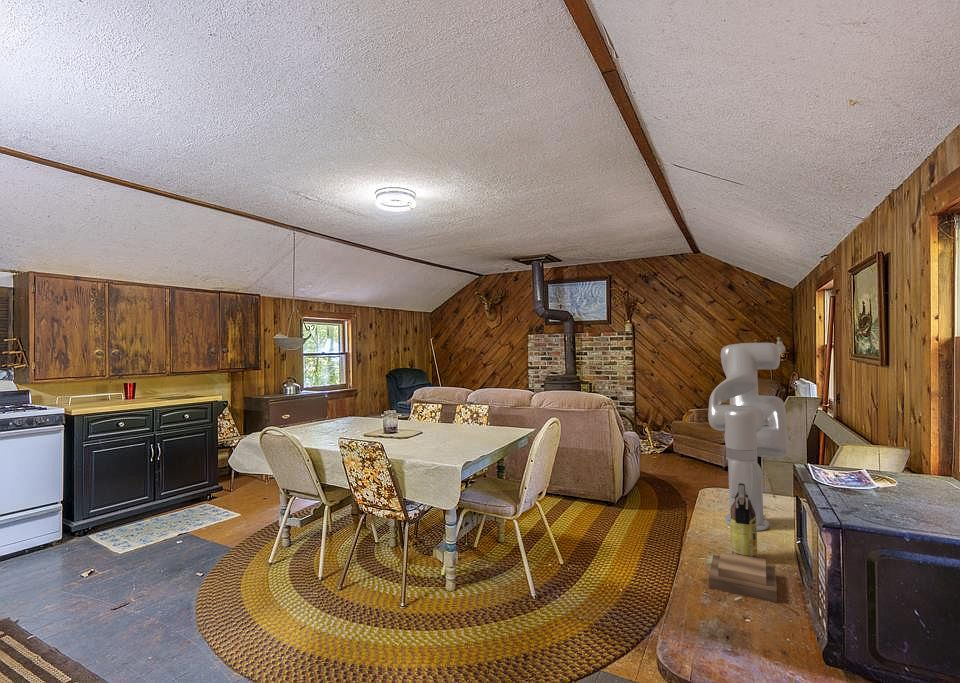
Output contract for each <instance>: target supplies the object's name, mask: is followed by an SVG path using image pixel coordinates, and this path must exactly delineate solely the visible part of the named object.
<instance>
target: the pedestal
mask: <svg viewBox="0 0 960 683" xmlns="http://www.w3.org/2000/svg"><path fill="white" fill-rule="evenodd" d="M776 575H777V573H776V566H775V565H773V564H768V563H766V559H765V558H759V557H757V558H754V557H748V556H743V555H737V554H732V552H724V551H720V555H718V554H717V555H715V554H713V555H712V560H711V565H710V570H709V575H708V589H710V588H711V589H712V590H715V589H717V590H716V591H719V590H721V591H720V592H724V593H725V592H726V593H731V594H733V595H734V594H735V595H740V596H744V597H749V598H752V599H757V600H758V599H759V600H763V601H767V602H772V603H778V594H777V593H778V592H777V591H778V590H777V576H776Z"/></svg>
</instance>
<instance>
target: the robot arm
mask: <svg viewBox="0 0 960 683" xmlns="http://www.w3.org/2000/svg"><path fill="white" fill-rule="evenodd" d="M720 361H721V362H720V363H721V366H722V370H723V372H724V375H725V376H726V379H724V380H722V382H720V383H719V384H718V385H717V386H716V387H715V388H714V389H713V390H712V392H711V394H710V396H709V402H708V411H707V413H708V414H707V418H708V419H707V420H708V423H709V426H710V427H711V428H712V429H713V430H715V431H722V432H724V435H723V436H724V437H723V438H724V443H725V444H724V445H725V460H727V464H728V466H727V467H728V472H727V473H728V495H729V496H728V501H729V514H726V515H724V522H725V523H726V524H727V525H729V526H731V522H730V518H731V511H730V509H731V506H732V504H733V503H734V501H735V499H734V497H736V507H735V515H736V523H740V524H747V525H749V524H750V520H749V509H748V500H750V501H751V504H752V506H753V509H754V511H755V514H756V527H757V532H759V531H760V532H761V531H765V530H767V529H769V528H770V522H769V521H768V520H767V519H765V518H764V490H763V489H764V488H763V471H762V467H761V465H760V464H759V463H758V457H761V458H762V457H764V458H774V459H775V458H784V457H786V456H787V453H788V451H789V437H788V424H787V422H788V421H787V420H788V419H787V411H786V406H785V405H786V404H785V403H784V400H783V399H782V398H780V397H778V396H775V395H759V384H758V383H759V380H758V370H777V369H778V368H779V366H780V363H781V352H780V348H779V346H778V345H777V344H776V343H773V342H741V343H732V344H727V345H725V346H723V347H721V350H720ZM727 400H729V404H722V403H724V402H726V401H727ZM744 485H745V490H744ZM744 496H745V497H744Z"/></svg>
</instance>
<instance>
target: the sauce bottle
mask: <svg viewBox="0 0 960 683" xmlns="http://www.w3.org/2000/svg"><path fill="white" fill-rule="evenodd" d="M744 490H745V485H744ZM744 497H745V496H744ZM734 499H735V501H734V503H733V504H732V506H731V509H730V508H729V512H730V511H731V518H730V522H731V525H730V538H731V539H730V540H731V541H730V542H731V543H730V544H731V551H732V552H731V554H737V555H743V556H748V557H754V558H758V534H757V533H758V531H757V527H756V514H755V511H754V509H753V506H752V504H751V501H750V500H748V509H749V520H750V524H749V525H747V524H740V523H736V515H735V507H736V497H734Z"/></svg>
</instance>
